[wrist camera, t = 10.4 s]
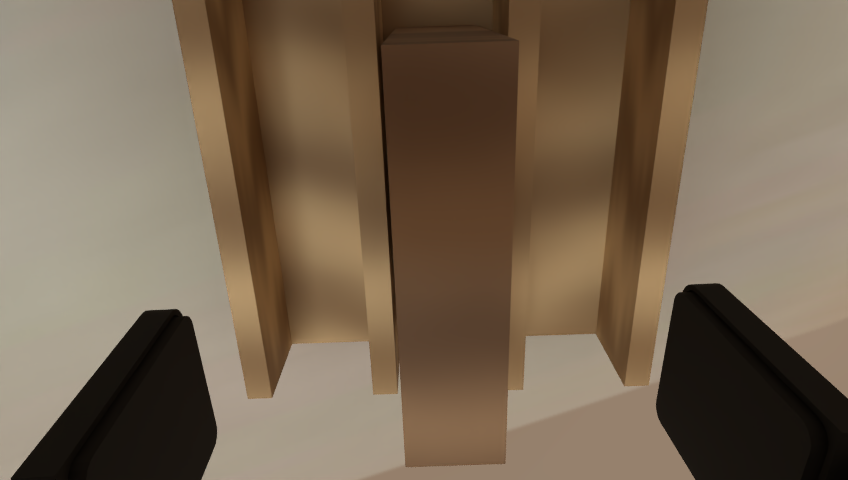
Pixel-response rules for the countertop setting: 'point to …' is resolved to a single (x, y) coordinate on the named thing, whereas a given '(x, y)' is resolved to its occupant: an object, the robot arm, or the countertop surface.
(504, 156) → the board
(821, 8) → the countertop surface
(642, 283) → the rack
